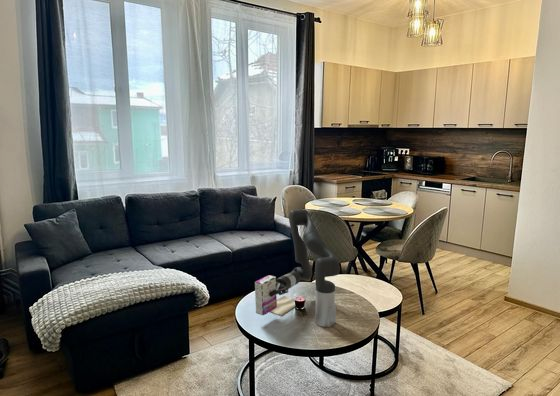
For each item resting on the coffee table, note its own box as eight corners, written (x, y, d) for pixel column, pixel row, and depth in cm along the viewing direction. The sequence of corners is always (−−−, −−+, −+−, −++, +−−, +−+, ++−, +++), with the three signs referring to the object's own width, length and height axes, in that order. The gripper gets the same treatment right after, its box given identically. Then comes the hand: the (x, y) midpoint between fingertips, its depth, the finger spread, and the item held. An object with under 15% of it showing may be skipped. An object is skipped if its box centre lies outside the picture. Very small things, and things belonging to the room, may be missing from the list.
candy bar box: (269, 305, 195) (268, 274, 192) (277, 307, 192) (276, 276, 189) (255, 313, 186) (254, 281, 183) (262, 316, 183) (262, 283, 180)
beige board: (301, 302, 209) (301, 301, 209) (281, 315, 194) (281, 314, 194) (283, 296, 216) (283, 295, 216) (262, 309, 201) (262, 308, 201)
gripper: (274, 272, 204) (254, 282, 191) (297, 278, 196) (277, 289, 182) (275, 286, 205) (254, 296, 192) (297, 292, 197) (277, 304, 184)
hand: (265, 293), depth 187 cm, fingers closed on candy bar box, 5 cm apart
